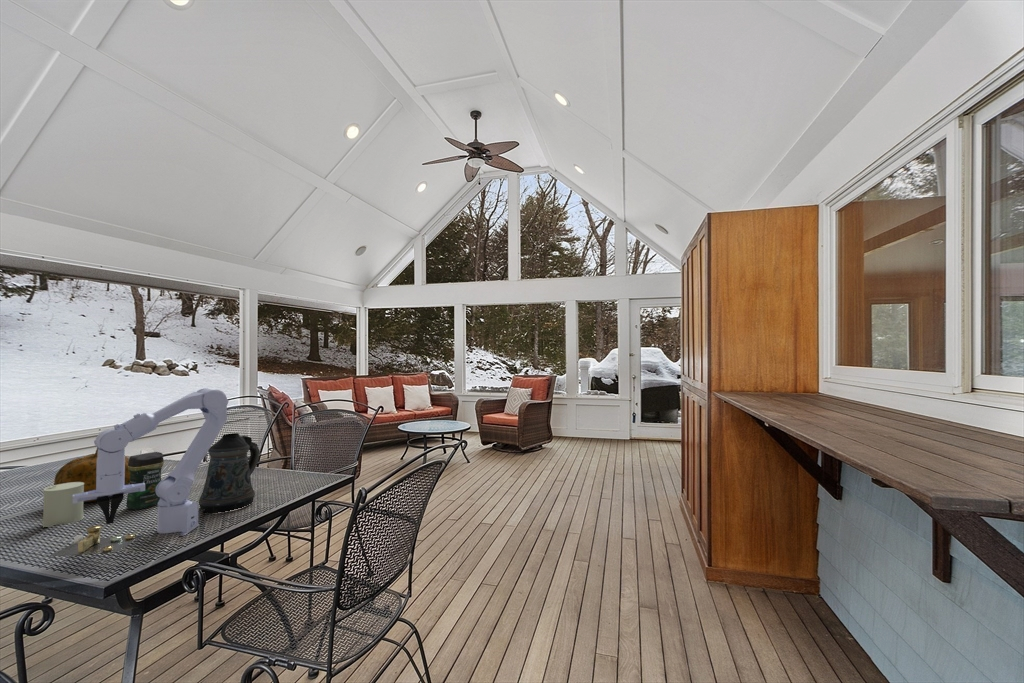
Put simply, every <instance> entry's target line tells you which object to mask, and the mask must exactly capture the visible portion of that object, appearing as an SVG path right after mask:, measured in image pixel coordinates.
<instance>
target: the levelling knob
mask: <svg viewBox="0 0 1024 683" xmlns="http://www.w3.org/2000/svg"><path fill="white" fill-rule="evenodd" d="M102 529H103V526H102V525H92V526H90V527H87V528H86V533H88V534H87V536H86V537H83V540H81V541H80V542H78V553H80V552H84V551H85V550H87V549H88V548H90V547H91V546H92V545H94V544H97V543H99V542H100V538H101V530H102Z"/></svg>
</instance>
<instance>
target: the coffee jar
mask: <svg viewBox="0 0 1024 683" xmlns="http://www.w3.org/2000/svg"><path fill="white" fill-rule="evenodd" d="M128 459H129V462H128V470H129V472H130V483H129V485H131V484H140V483H145V491H141V492H140V491H138V492H132V493H127V497H126V506H125V507H126V508H127V509H128V510H130V511H132V510H143V509H146V508H151V507H154V505H155V506H158V502H159V500H160V497H158V496H157V495H156V487H157V485H158V484H159V482H161V481H162V468H163V466H164V463H165V462H164V461H165V460H164V454H163V452H160V451H154V452H146V453H140V454H134V455H131V456H129V457H128Z"/></svg>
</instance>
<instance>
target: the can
mask: <svg viewBox="0 0 1024 683" xmlns="http://www.w3.org/2000/svg"><path fill="white" fill-rule="evenodd" d="M42 492H43V510H42V511H43V513H42V525H41V526H43V527H42V528H44V527H50V528H51V527H53V526H55V525H57V526H58V525H64V524H74V522H76V523H78V522H77V521H79V522H80V520H81V521H83V520H84V519H85V516H84V503H83V501H81V502H78V503H74V504H73V495H74V494H80V493H84V483H83V482H70V483H63V484H58V485H54V484H53V485H51V486H47V487H45V488H43V489H42ZM83 518H84V519H83ZM82 519H83V520H82Z"/></svg>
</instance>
